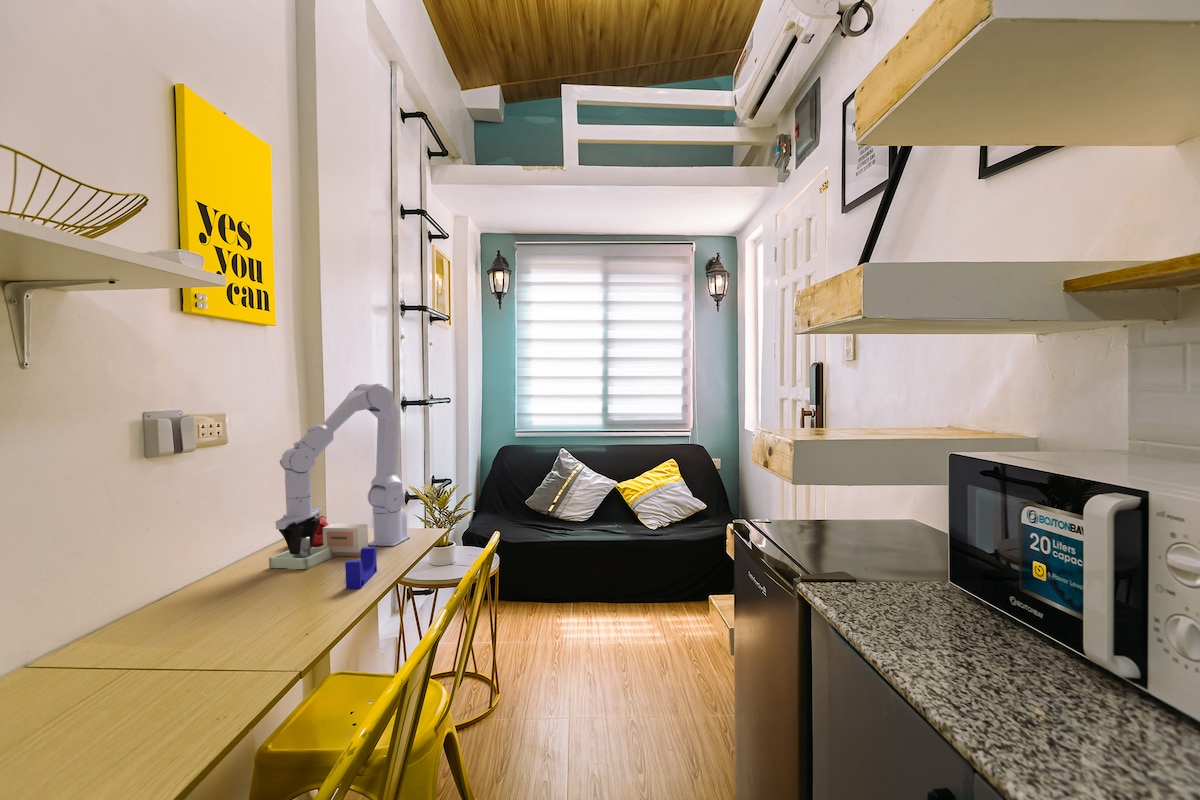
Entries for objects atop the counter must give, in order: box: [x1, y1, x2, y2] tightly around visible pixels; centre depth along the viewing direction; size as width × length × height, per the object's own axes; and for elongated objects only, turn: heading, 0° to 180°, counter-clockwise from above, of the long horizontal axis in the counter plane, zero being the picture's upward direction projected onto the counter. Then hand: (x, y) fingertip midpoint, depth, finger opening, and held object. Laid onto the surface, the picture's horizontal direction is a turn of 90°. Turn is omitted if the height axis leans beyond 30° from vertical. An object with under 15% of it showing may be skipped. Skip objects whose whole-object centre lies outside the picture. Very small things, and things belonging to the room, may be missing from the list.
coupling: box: [292, 535, 310, 558], centre depth 151 cm, size 4×4×5 cm
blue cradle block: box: [344, 546, 378, 590], centre depth 137 cm, size 12×4×6 cm, turn 4°
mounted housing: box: [322, 523, 369, 558], centre depth 159 cm, size 6×12×7 cm, turn 80°
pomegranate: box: [312, 515, 329, 547], centre depth 169 cm, size 10×10×9 cm
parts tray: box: [268, 546, 333, 570], centre depth 151 cm, size 10×10×2 cm
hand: (301, 551), depth 151 cm, fingers closed on coupling, 4 cm apart
